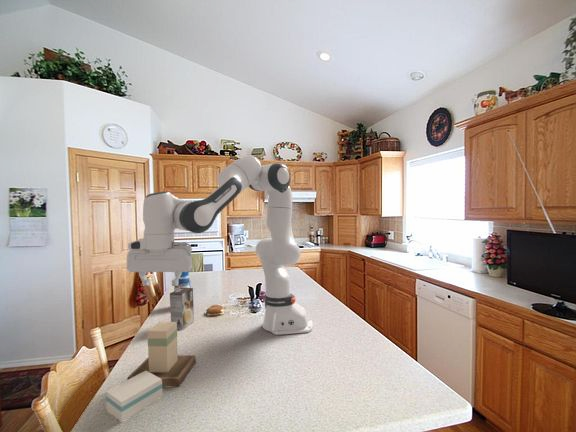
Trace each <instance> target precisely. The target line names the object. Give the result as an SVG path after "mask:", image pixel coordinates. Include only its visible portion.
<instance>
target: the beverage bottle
mask: <svg viewBox="0 0 576 432" xmlns="http://www.w3.org/2000/svg"><path fill="white" fill-rule="evenodd" d="M189 272H190V271H188V272H182V274H181V276H180V278H179V284H178V285H177V286H173V287H174V288H173V291H175V290H177V289H179V288H192V285H191V280H190V278H189V275H190V274H189ZM174 276H175V277H176V276H177V275H175V274H174Z"/></svg>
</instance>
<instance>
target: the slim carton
mask: <svg viewBox="0 0 576 432" xmlns="http://www.w3.org/2000/svg"><path fill="white" fill-rule="evenodd" d="M147 352H148V354H147V355H148V357H149V372H169V370H170V369H171V368H172V367H173V365H174V364H175V363H176V362H177V361H178V355H179V352H178V329H177V322H171V321H158V322H157V323H156V324H155V325H153V326H152V327H151V328H150V329H148V330H147Z"/></svg>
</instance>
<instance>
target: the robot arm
mask: <svg viewBox="0 0 576 432" xmlns="http://www.w3.org/2000/svg"><path fill="white" fill-rule="evenodd" d="M290 184H291V173H290V169H289V168H288V167H287V166H286V164H282V163H269V164H263V165H261V162H260V160H259V159H258V158H257V157H255V156H253V155H245V156H242V157H239V158H238V159H236V160H234V161H233V162H231V163H230V164H227V166H225V167H224V168H223V169H222V170H221V171H220V172H219V173H218V174H217V185H218V187H217V188H216V189H214V191H212V193H210V194H209V195H208V196H206V197H205V198H204V199H201V200H194V201H186V200H183V199H180V198H179V197H176V196H175V195H173V194H172V193H171V192H170V191H165V190H163V191H158V192H152V193H149V194H147V195H146V196H145V197H144V200H143V205H142V206H143V207H142V221H143V223H144V230H143V238H139V239H137V240H134V241H130V242H129V243H128V244H127V249H128V250H129V251H128V252H127V253H126V254H127V255H126V270H128V272H129V273H138V276H139V278H140V280H141V281H142V286H143V287H149V286H150V285H151V279H150V278H148V277H147V276H146V275H147V273H174V276H175V275H177V276H175V278H174V279H172V280H171V286H172V287H175V286H177V285H178V284H179V278H180V276H181V274H182V272H188V271H189V272H190V271H191V270H192V268H193V267H194V264H193V258H192V257H193V256H192V252H193V251H192V249H193V248H192V245H191V244H190V243H188V242H185V241H184V242H176V241H175V230H180V231H181V230H182V231H185V232H186V231H187V232H190V233H192V234H193V233H194V234H202V233H205V232H206V231H208V230H209V229H210V228H211V227H212V226H213V224H214V222H215V220H216V218H217V216H218V215H219V214H221V212H222V211H223V210H224V209H225V208H226V207H227V206H228V205H229V204H230V203H231V202H232V201H234V199H235V198H236V197H238V195H239V194H241V193H242V192H244V190H245V189H247V188H249V189H250V190H253V191H256V192H267V196H268V200H267V209H266V211H267V212H266V213H267V214H266V226H267V228H268V229H269V233H270V236H271V237H268V238H267V237H266V238H263V239H261V240H259V241H258V242H257V243H256V247H255V253H256V255H257V257H258V259H259V261H260V263H261V267H262V270H263V274H264V283H265V284H264V286H265V293H264V301H263V302H264V308H265V311H264V317H263V322H262V328H263V329H264V330H265V331H268V332H270V333H272V334H273V335H274V336H279V335H290V334H291V335H292V334H303V333H310V332H311V331H312V330H313V328H314V323H313V320H312V319H311V318H310V317H309V316H308V314H307V313H308V312H307V311H306V309H305V308H304V307H303V306H302V305H300V304H298V303H297V302H296V301H297V300H296V299H297V298H296V297H295V294H294V293H291V277H290V275H289V273H288V272H287V270H286V268H285V267H290V266H295V265H296V264H297V263H298V262H299V261H300V259H301V252H302V251H301V248H300V246H299V245H298V244H297V242H296V240H295V237H294V233H293V228H292V220H293V218H292V217H293V216H292V215H293V214H292V213H293V194H292V193H293V192H292V188H291V187H290Z"/></svg>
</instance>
